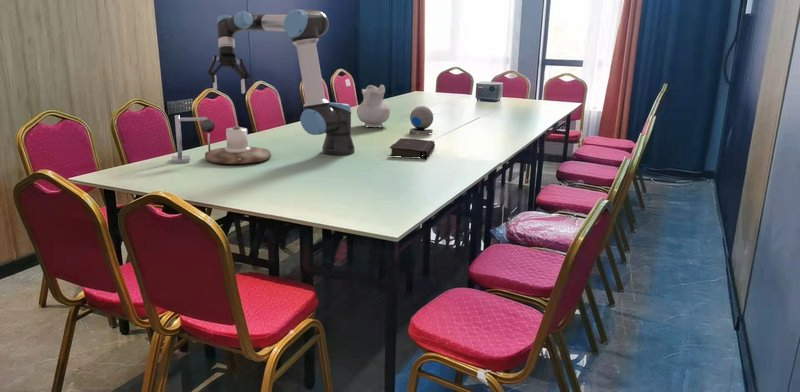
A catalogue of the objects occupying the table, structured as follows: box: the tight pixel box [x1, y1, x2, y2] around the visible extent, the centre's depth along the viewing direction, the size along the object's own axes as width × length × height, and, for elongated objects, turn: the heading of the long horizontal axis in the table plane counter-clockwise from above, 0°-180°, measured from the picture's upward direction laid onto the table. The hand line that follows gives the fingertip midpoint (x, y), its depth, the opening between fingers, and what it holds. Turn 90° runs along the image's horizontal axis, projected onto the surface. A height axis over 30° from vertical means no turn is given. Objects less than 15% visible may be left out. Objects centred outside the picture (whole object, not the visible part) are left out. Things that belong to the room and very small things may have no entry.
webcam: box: [409, 105, 434, 135], centre depth 335 cm, size 13×13×15 cm
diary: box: [389, 137, 436, 159], centre depth 284 cm, size 19×25×5 cm
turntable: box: [204, 146, 272, 165], centre depth 262 cm, size 28×28×2 cm
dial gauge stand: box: [171, 114, 216, 164], centre depth 255 cm, size 18×7×20 cm, turn 107°
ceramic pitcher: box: [356, 84, 391, 127], centre depth 348 cm, size 22×20×25 cm
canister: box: [224, 125, 251, 153], centre depth 265 cm, size 11×11×11 cm
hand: (229, 91), depth 280 cm, fingers open, 13 cm apart
